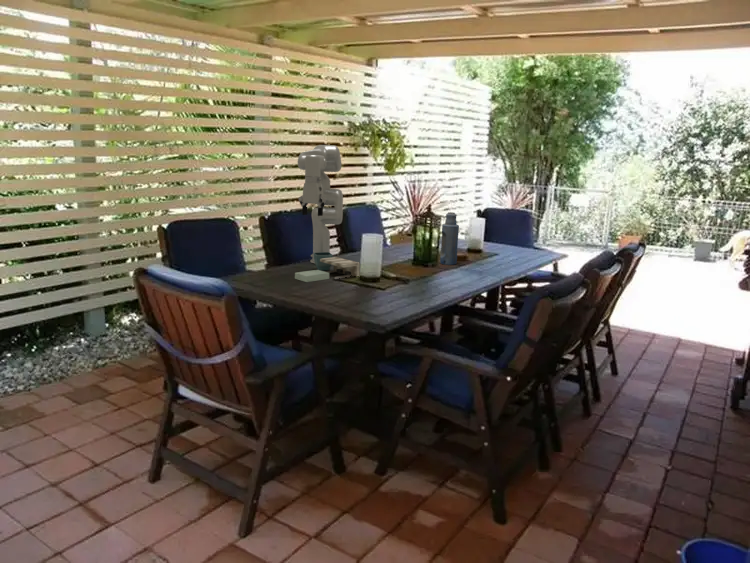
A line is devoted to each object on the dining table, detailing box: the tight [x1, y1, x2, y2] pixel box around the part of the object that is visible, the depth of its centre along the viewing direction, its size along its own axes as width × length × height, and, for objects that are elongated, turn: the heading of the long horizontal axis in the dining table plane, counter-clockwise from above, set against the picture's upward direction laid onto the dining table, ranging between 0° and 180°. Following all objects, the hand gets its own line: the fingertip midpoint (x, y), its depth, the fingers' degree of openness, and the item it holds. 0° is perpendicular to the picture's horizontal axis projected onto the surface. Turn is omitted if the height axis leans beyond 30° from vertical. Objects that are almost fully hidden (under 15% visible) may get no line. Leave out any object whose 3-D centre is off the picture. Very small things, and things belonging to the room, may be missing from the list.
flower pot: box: [314, 252, 334, 271], centre depth 318 cm, size 9×9×9 cm
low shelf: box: [320, 256, 361, 280], centre depth 305 cm, size 20×14×8 cm
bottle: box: [439, 211, 460, 266], centre depth 343 cm, size 10×10×30 cm
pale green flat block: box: [294, 269, 330, 283], centre depth 296 cm, size 10×14×3 cm
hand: (312, 215), depth 294 cm, fingers open, 9 cm apart
